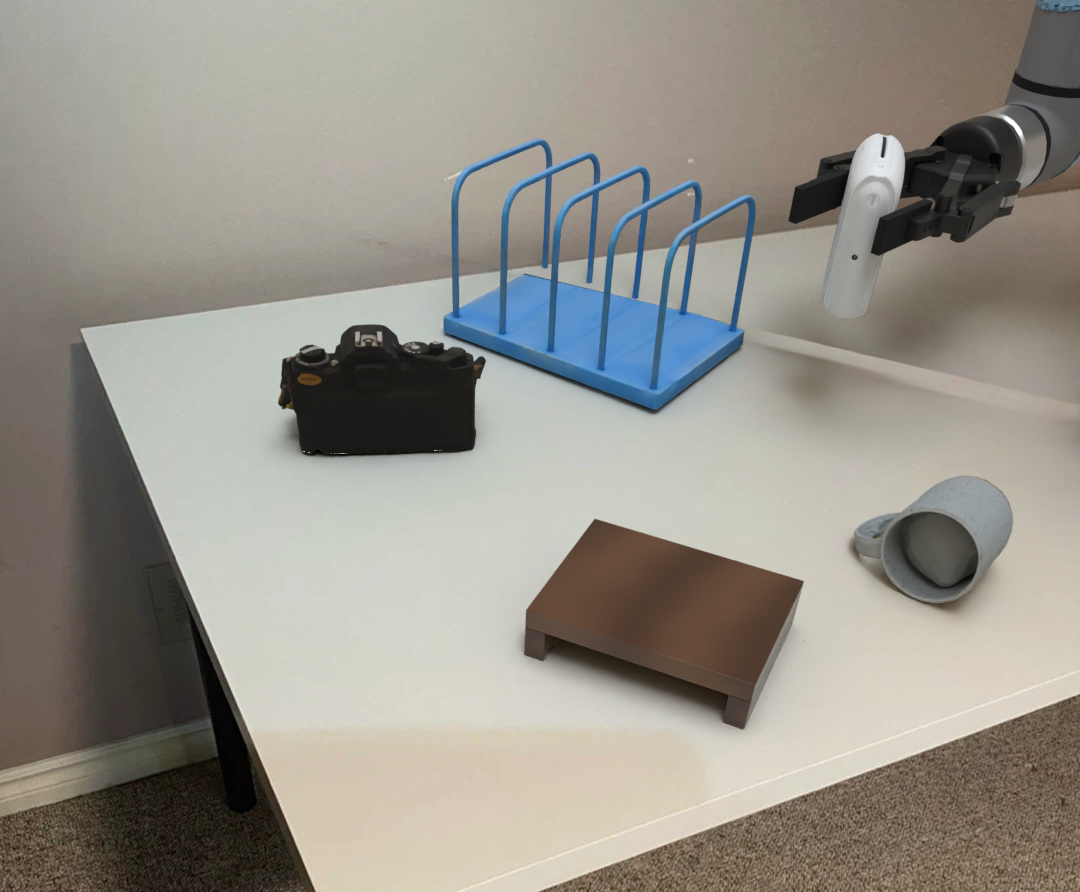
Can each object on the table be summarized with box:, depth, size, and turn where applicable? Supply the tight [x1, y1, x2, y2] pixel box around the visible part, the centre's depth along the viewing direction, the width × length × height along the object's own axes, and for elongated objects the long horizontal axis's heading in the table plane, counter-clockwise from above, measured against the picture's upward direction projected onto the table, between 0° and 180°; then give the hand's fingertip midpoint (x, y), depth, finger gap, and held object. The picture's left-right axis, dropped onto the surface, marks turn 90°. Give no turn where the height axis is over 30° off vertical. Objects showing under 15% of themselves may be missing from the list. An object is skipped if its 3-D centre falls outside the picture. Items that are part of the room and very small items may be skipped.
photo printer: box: [820, 132, 905, 320], centre depth 89 cm, size 10×4×12 cm, turn 165°
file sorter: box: [443, 138, 757, 411], centre depth 103 cm, size 25×17×15 cm
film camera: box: [277, 323, 487, 455], centre depth 91 cm, size 18×12×10 cm
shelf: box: [523, 518, 805, 730], centre depth 75 cm, size 16×12×4 cm
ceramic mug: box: [853, 475, 1014, 604], centre depth 81 cm, size 11×8×8 cm
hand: (836, 220), depth 85 cm, fingers closed on photo printer, 7 cm apart
